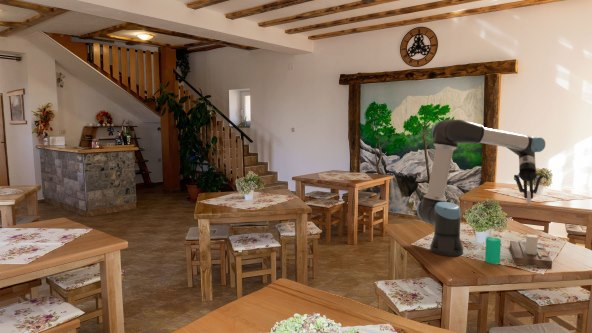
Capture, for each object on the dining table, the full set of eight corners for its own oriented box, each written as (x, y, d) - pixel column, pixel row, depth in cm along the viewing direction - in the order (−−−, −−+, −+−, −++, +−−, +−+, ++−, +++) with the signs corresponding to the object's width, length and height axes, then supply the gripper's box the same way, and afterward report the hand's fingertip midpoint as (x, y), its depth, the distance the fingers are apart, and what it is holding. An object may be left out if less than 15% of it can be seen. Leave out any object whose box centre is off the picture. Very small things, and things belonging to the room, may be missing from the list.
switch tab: (526, 253, 185) (527, 236, 185) (525, 251, 189) (526, 234, 188) (536, 254, 184) (537, 237, 183) (535, 252, 187) (536, 235, 187)
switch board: (514, 263, 182) (515, 255, 182) (510, 246, 208) (510, 238, 207) (551, 267, 177) (552, 258, 176) (542, 249, 202) (542, 241, 202)
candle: (482, 260, 187) (483, 234, 186) (491, 258, 190) (492, 233, 189) (493, 264, 182) (495, 237, 181) (502, 262, 184) (504, 236, 183)
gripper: (540, 171, 215) (543, 208, 202) (512, 170, 221) (513, 206, 207) (542, 162, 210) (545, 199, 197) (513, 161, 215) (514, 198, 202)
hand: (528, 203), depth 202 cm, fingers closed
